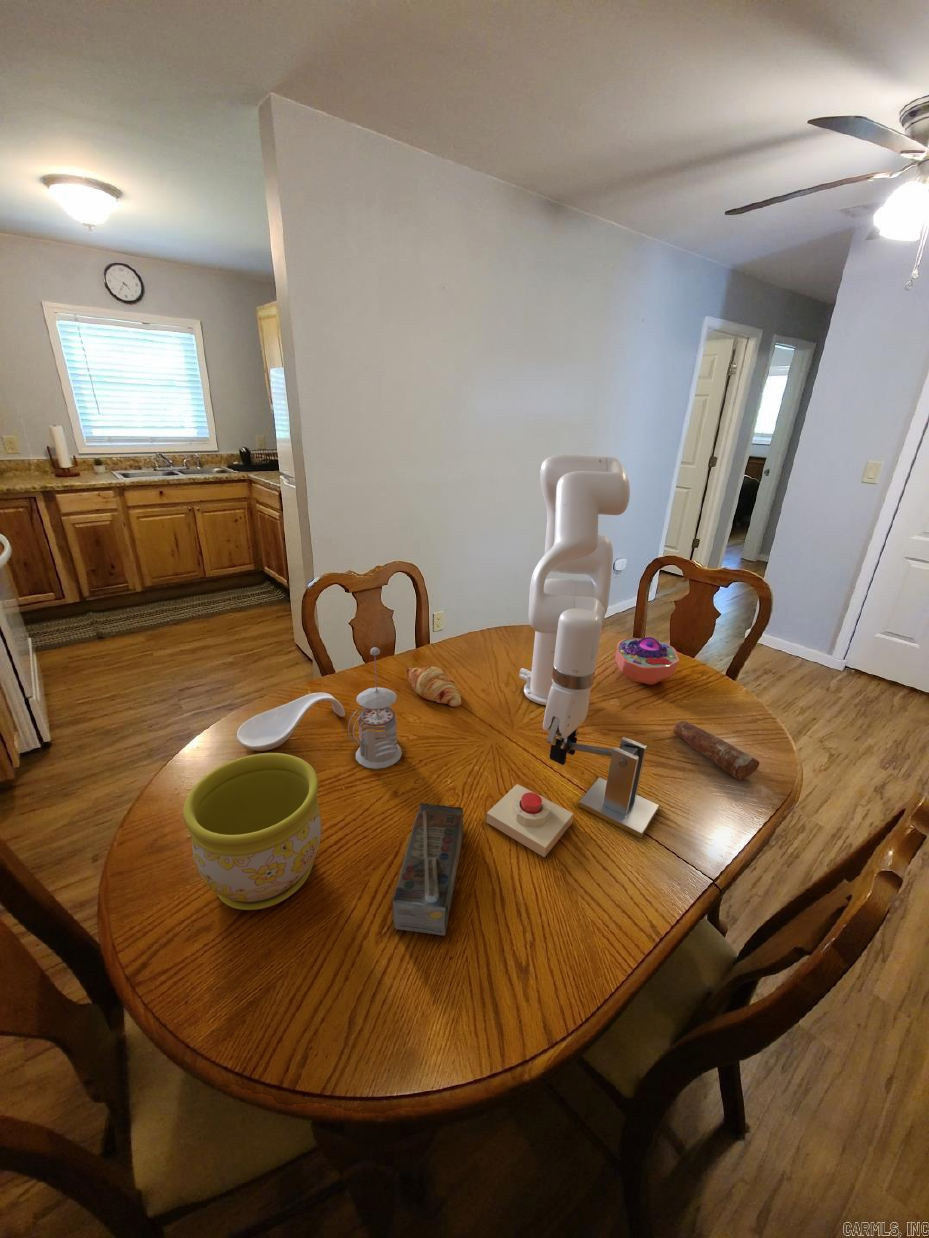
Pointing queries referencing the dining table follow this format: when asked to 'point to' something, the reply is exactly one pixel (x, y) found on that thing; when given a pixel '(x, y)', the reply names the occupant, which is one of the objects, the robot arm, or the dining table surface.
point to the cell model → (646, 659)
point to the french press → (377, 713)
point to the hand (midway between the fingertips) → (562, 755)
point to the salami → (717, 750)
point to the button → (531, 803)
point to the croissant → (434, 685)
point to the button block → (530, 821)
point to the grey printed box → (429, 870)
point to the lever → (596, 749)
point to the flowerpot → (255, 828)
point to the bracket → (622, 792)
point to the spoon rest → (280, 722)
